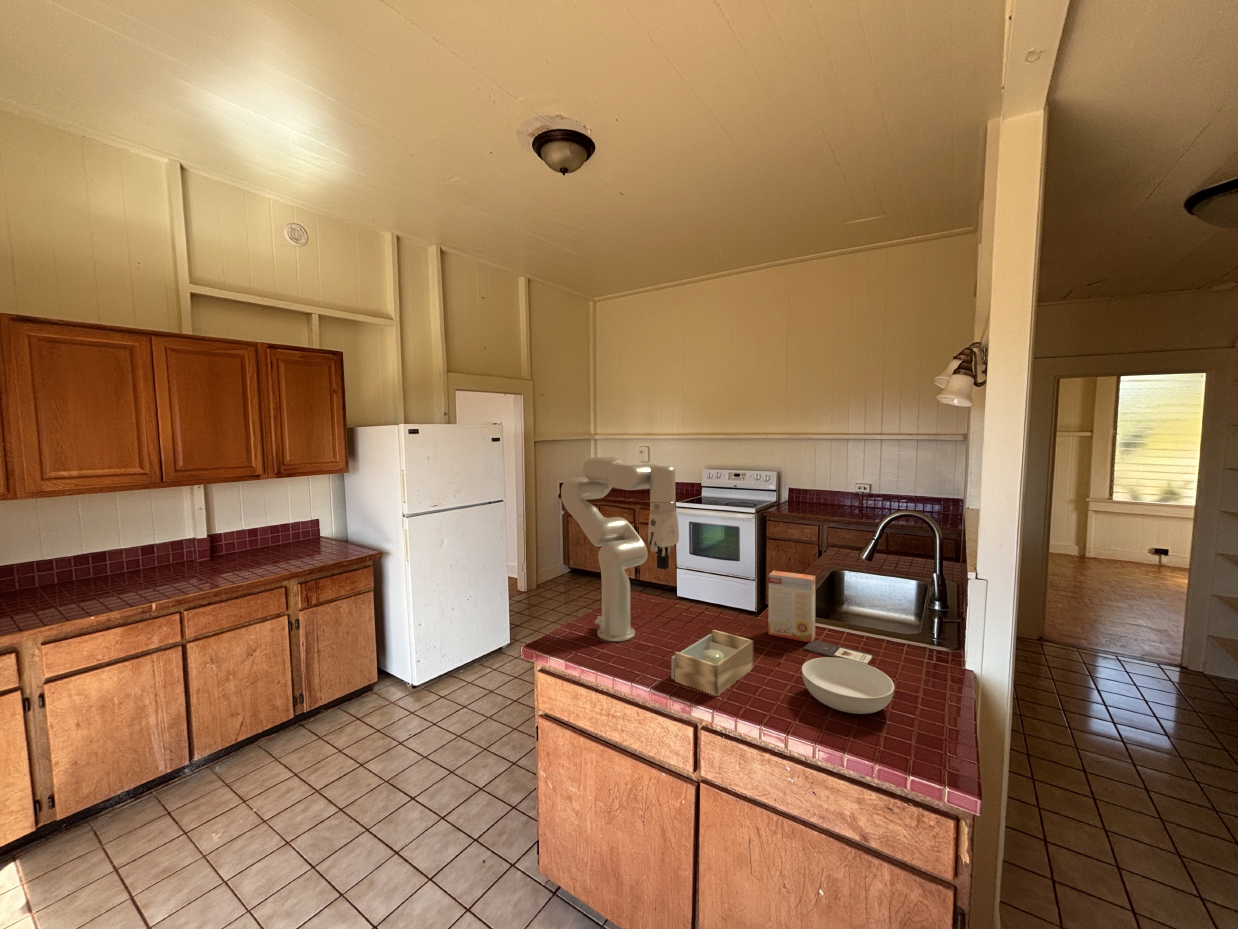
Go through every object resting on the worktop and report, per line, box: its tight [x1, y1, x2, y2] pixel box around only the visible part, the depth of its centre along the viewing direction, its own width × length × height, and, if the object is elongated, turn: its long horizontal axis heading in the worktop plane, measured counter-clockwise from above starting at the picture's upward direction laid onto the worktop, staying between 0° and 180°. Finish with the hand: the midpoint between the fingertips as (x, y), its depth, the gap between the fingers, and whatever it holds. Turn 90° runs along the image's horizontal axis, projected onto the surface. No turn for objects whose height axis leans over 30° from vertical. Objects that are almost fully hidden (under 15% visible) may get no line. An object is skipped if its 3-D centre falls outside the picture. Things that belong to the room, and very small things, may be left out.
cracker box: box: [767, 570, 816, 643], centre depth 164 cm, size 14×6×21 cm, turn 58°
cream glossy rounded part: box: [702, 649, 724, 664], centre depth 138 cm, size 6×6×4 cm
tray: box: [670, 633, 737, 681], centre depth 138 cm, size 13×21×6 cm, turn 140°
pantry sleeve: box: [674, 629, 754, 697], centre depth 138 cm, size 13×21×8 cm, turn 140°
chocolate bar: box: [802, 638, 874, 665], centre depth 151 cm, size 9×1×18 cm
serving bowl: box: [801, 656, 895, 715], centre depth 123 cm, size 21×21×7 cm
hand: (662, 568), depth 148 cm, fingers closed
